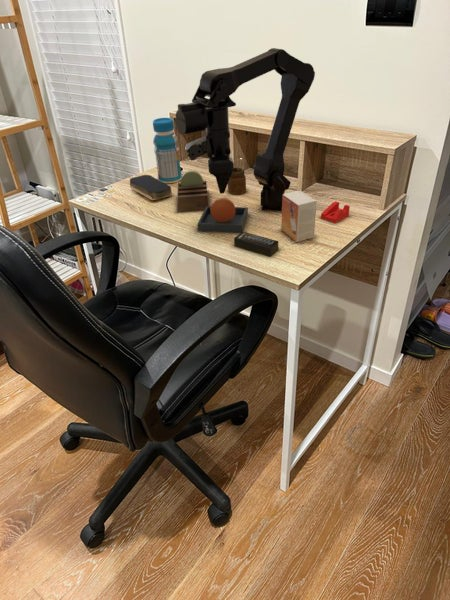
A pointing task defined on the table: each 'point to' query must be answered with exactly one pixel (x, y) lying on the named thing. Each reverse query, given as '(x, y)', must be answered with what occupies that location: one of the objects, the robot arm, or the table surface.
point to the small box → (298, 215)
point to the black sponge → (150, 187)
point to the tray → (231, 226)
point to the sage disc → (191, 179)
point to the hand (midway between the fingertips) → (221, 186)
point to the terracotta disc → (222, 210)
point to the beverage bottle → (166, 151)
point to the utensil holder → (237, 181)
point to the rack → (192, 198)
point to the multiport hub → (256, 243)
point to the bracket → (335, 212)
